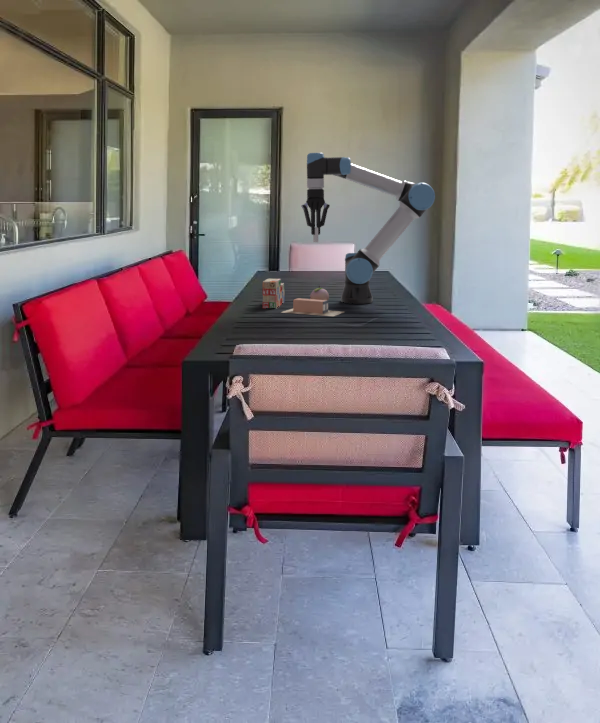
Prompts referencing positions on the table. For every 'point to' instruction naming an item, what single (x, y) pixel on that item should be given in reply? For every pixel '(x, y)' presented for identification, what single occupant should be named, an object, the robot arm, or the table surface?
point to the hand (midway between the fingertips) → (315, 242)
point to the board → (329, 313)
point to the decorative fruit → (319, 294)
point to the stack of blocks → (273, 293)
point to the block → (310, 305)
